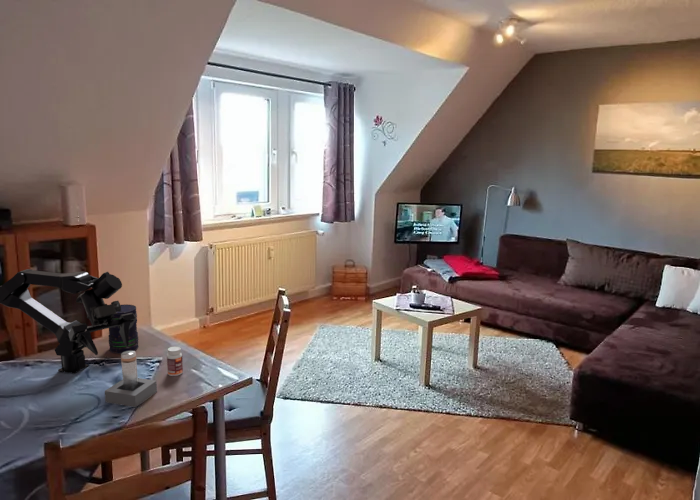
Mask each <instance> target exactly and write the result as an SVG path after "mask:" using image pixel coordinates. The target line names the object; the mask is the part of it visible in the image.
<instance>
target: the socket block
mask: <svg viewBox="0 0 700 500" xmlns="http://www.w3.org/2000/svg"><path fill="white" fill-rule="evenodd" d="M157 392H158V386H157V380H155V379H154V380H153V379H146V378H141V377H138V388H137V389H136V390H134V391H128V390H124V388H123V379H121V380H120V381H118V382H116V383H115V384H113V385H112V386H110V387H108V388H107V389H105V390H104V400H105V403H108V404H112V405H120V406H127V407H131V408H136V407H138V406H139V405H141V404H142V403H144V402H145V401H146V400H148V399H149V398H150V397H151V396H153V395H155V393H157Z"/></svg>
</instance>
